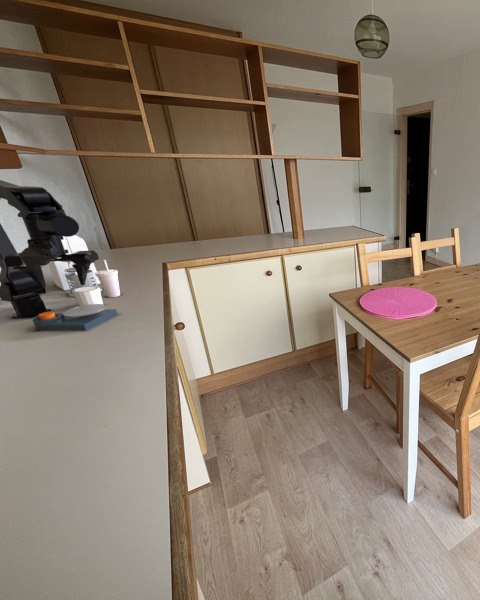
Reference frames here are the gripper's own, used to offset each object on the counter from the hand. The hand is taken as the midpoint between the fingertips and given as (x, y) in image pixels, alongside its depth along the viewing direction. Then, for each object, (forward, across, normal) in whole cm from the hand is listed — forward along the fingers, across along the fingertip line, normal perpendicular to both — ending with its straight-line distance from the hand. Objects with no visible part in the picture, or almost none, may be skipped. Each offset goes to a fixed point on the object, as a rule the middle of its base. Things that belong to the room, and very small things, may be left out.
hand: (64, 286), depth 94 cm
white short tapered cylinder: (+12, -2, +14) cm, 19 cm away
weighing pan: (+9, +2, +1) cm, 9 cm away
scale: (+12, 0, 0) cm, 12 cm away
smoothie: (+12, -1, +26) cm, 29 cm away
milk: (+13, -21, +46) cm, 52 cm away
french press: (+12, -13, +33) cm, 38 cm away
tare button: (+9, -5, -2) cm, 11 cm away
